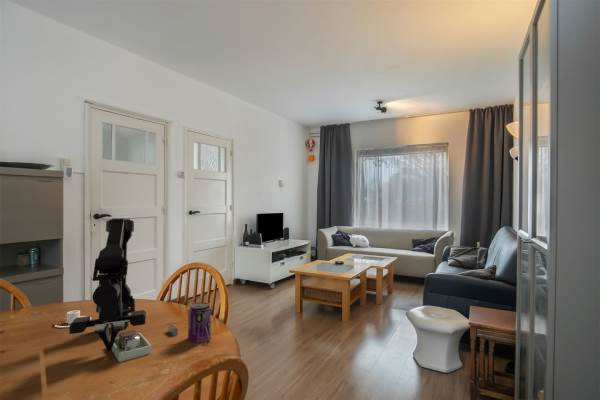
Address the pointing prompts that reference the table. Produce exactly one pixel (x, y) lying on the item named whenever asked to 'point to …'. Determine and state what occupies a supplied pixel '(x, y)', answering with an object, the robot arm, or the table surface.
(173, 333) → the buffer stop
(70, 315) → the candle holder
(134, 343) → the metal part
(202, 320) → the beverage can
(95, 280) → the robot arm
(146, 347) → the shallow open crate
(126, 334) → the walnut block
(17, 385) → the table surface
